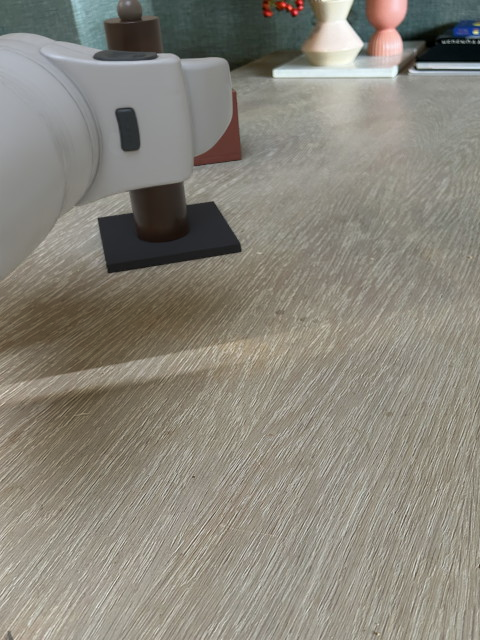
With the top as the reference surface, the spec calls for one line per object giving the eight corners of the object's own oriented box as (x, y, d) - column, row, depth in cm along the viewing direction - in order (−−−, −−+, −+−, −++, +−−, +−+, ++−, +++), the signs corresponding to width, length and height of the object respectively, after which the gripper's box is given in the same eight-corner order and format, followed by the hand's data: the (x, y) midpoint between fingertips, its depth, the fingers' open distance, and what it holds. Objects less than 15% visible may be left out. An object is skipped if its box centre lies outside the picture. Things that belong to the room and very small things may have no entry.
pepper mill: (139, 246, 61) (97, 1, 50) (133, 226, 65) (93, -4, 54) (194, 237, 62) (163, -4, 51) (184, 219, 66) (155, -9, 55)
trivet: (108, 273, 58) (106, 264, 58) (98, 225, 68) (97, 217, 68) (241, 251, 61) (240, 243, 60) (214, 208, 71) (213, 200, 70)
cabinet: (133, 173, 82) (121, 103, 77) (123, 147, 92) (112, 84, 87) (241, 159, 85) (236, 91, 80) (220, 135, 95) (214, 73, 90)
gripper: (-132, 187, 39) (-26, 126, 50) (217, 181, 37) (245, 119, 49) (-178, 70, 35) (-53, 32, 47) (205, 57, 34) (238, 21, 45)
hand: (101, 76), depth 48 cm, fingers open, 8 cm apart
